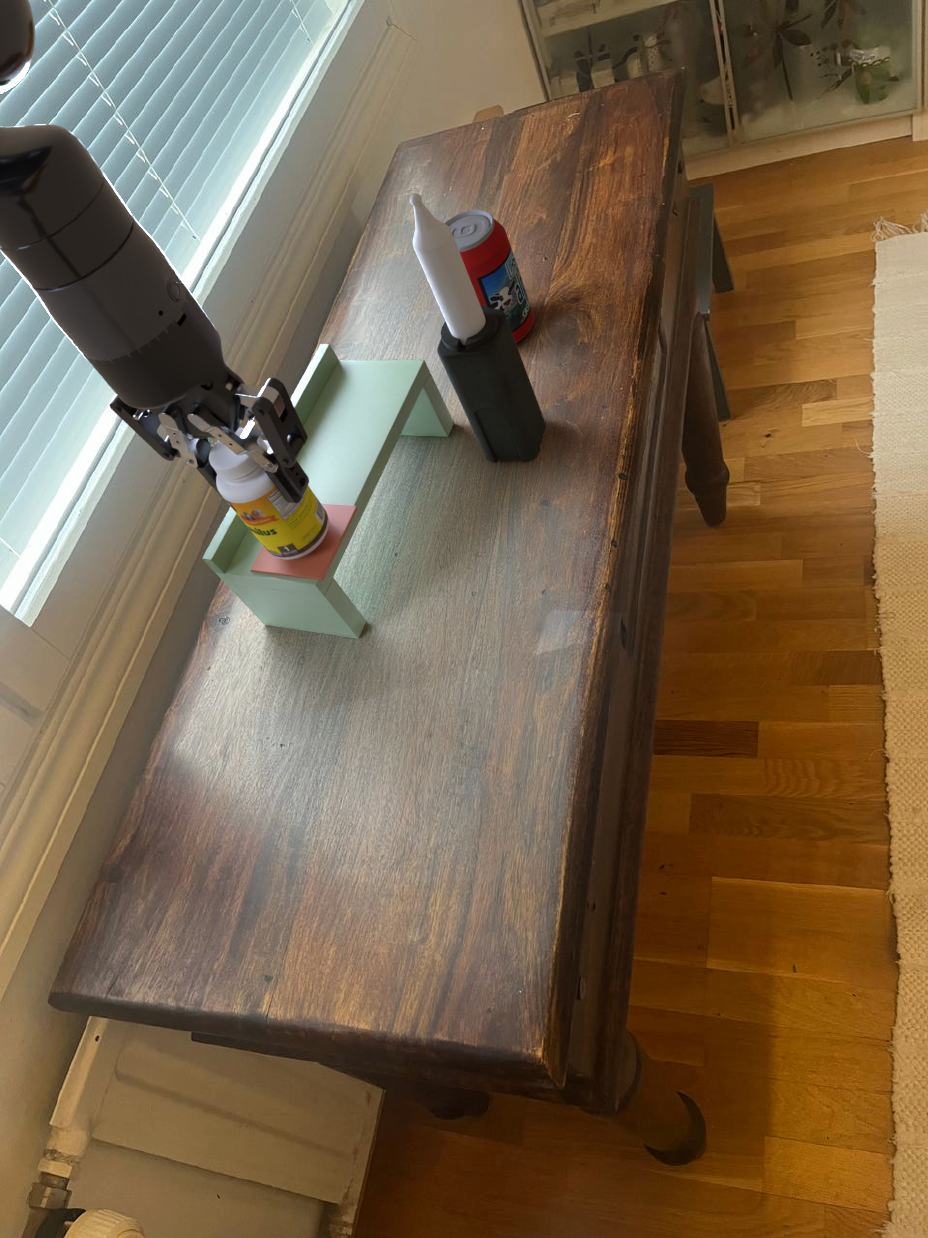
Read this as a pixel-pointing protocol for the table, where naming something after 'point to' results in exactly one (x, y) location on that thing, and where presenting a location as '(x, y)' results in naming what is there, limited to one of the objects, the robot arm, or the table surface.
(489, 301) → the beverage can
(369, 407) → the shelf
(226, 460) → the supplement bottle
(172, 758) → the table surface
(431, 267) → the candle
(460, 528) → the table surface
